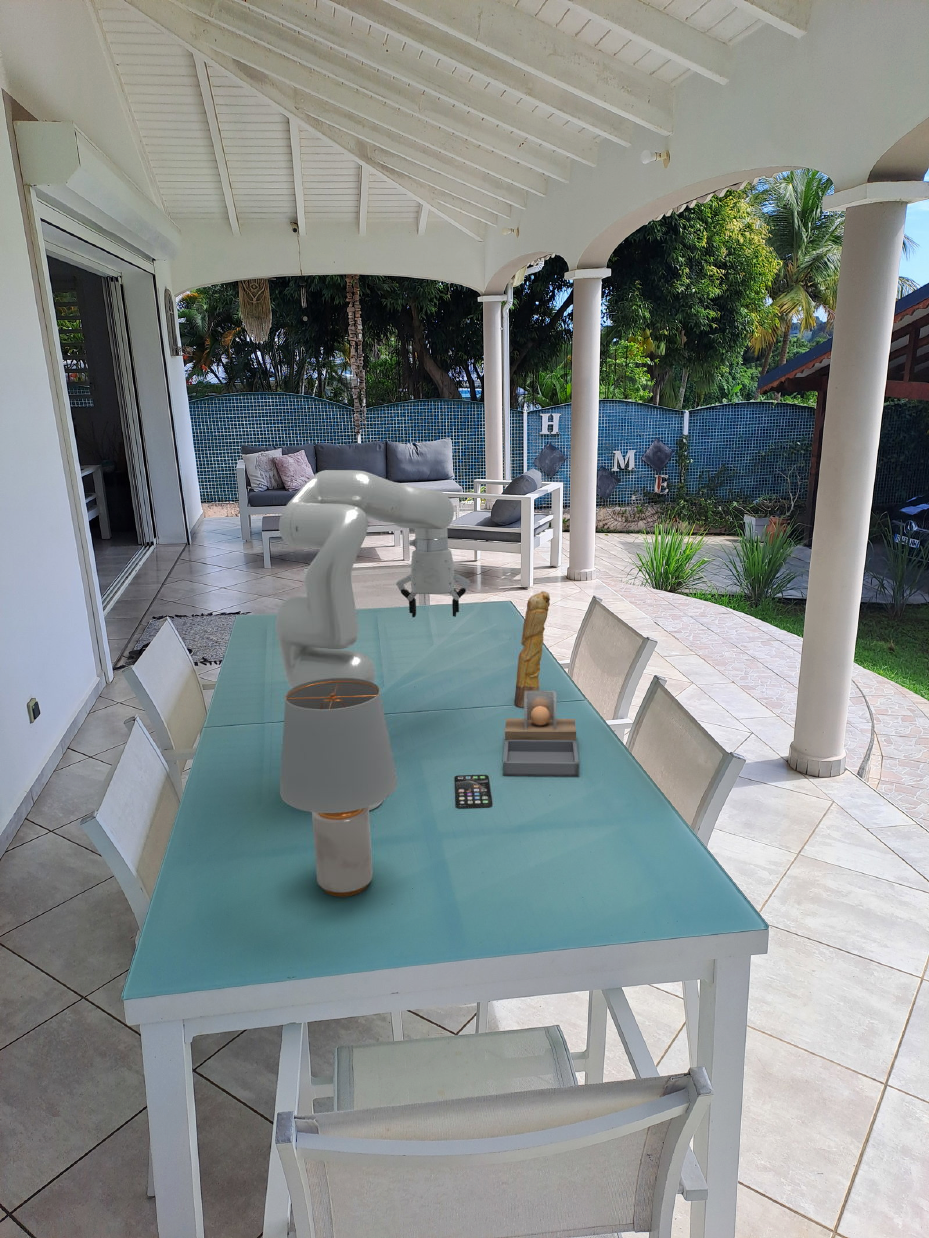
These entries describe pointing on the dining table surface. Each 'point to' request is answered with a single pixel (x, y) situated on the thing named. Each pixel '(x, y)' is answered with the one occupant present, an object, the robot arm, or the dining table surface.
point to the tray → (541, 758)
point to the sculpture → (531, 646)
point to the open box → (539, 704)
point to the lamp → (337, 773)
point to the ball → (540, 715)
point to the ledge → (540, 730)
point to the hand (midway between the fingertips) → (434, 615)
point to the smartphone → (472, 791)
